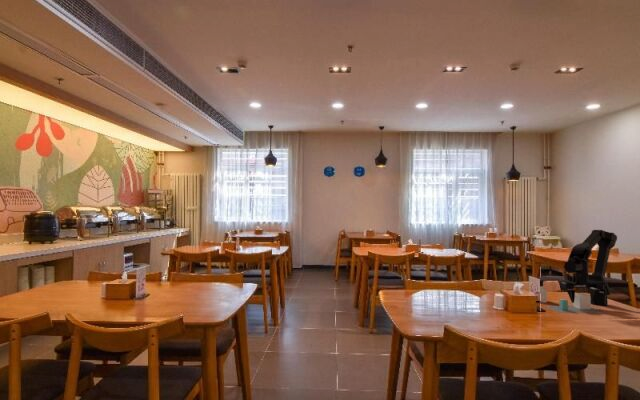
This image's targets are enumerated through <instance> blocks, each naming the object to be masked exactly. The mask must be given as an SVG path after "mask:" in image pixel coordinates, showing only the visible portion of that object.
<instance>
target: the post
mask: <svg viewBox="0 0 640 400" xmlns="http://www.w3.org/2000/svg"><path fill="white" fill-rule="evenodd" d="M558 301H559V302H558V303H559V305H558V306H559V309H560V310H562V311H568V306H569V301H568V300H567V299H565V298H559V300H558Z"/></svg>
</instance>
